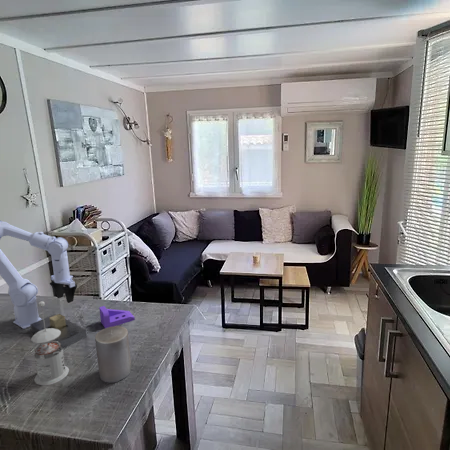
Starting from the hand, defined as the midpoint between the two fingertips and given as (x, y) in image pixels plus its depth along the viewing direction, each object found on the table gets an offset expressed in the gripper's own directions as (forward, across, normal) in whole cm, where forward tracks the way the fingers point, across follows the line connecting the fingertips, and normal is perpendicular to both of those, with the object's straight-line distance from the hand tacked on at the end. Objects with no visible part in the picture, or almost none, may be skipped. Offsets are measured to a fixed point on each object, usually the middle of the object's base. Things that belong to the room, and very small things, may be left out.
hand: (65, 299), depth 138 cm
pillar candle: (+10, -45, +10) cm, 47 cm away
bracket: (+10, -18, -12) cm, 23 cm away
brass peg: (+9, -7, +8) cm, 14 cm away
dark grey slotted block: (+9, -7, +8) cm, 14 cm away
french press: (+10, -28, +22) cm, 37 cm away
